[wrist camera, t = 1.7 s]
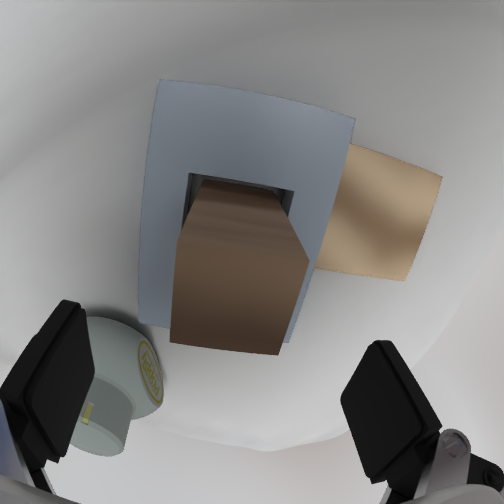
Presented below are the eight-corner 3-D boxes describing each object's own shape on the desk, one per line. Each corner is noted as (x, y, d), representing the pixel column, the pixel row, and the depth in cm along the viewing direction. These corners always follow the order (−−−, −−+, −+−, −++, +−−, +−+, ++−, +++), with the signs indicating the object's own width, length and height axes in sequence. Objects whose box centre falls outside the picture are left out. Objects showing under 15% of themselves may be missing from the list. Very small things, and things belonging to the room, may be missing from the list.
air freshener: (172, 387, 27) (159, 475, 18) (100, 384, 27) (75, 461, 18) (141, 298, 22) (102, 398, 13) (58, 301, 22) (4, 382, 13)
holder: (168, 84, 16) (159, 79, 14) (340, 117, 17) (355, 118, 15) (146, 303, 22) (138, 322, 20) (283, 322, 24) (288, 343, 22)
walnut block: (204, 178, 19) (177, 240, 10) (273, 190, 19) (309, 260, 10) (194, 242, 21) (169, 341, 11) (258, 252, 21) (278, 355, 12)
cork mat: (335, 139, 18) (338, 140, 17) (438, 175, 19) (442, 176, 19) (302, 262, 22) (303, 266, 21) (401, 277, 23) (404, 281, 22)
